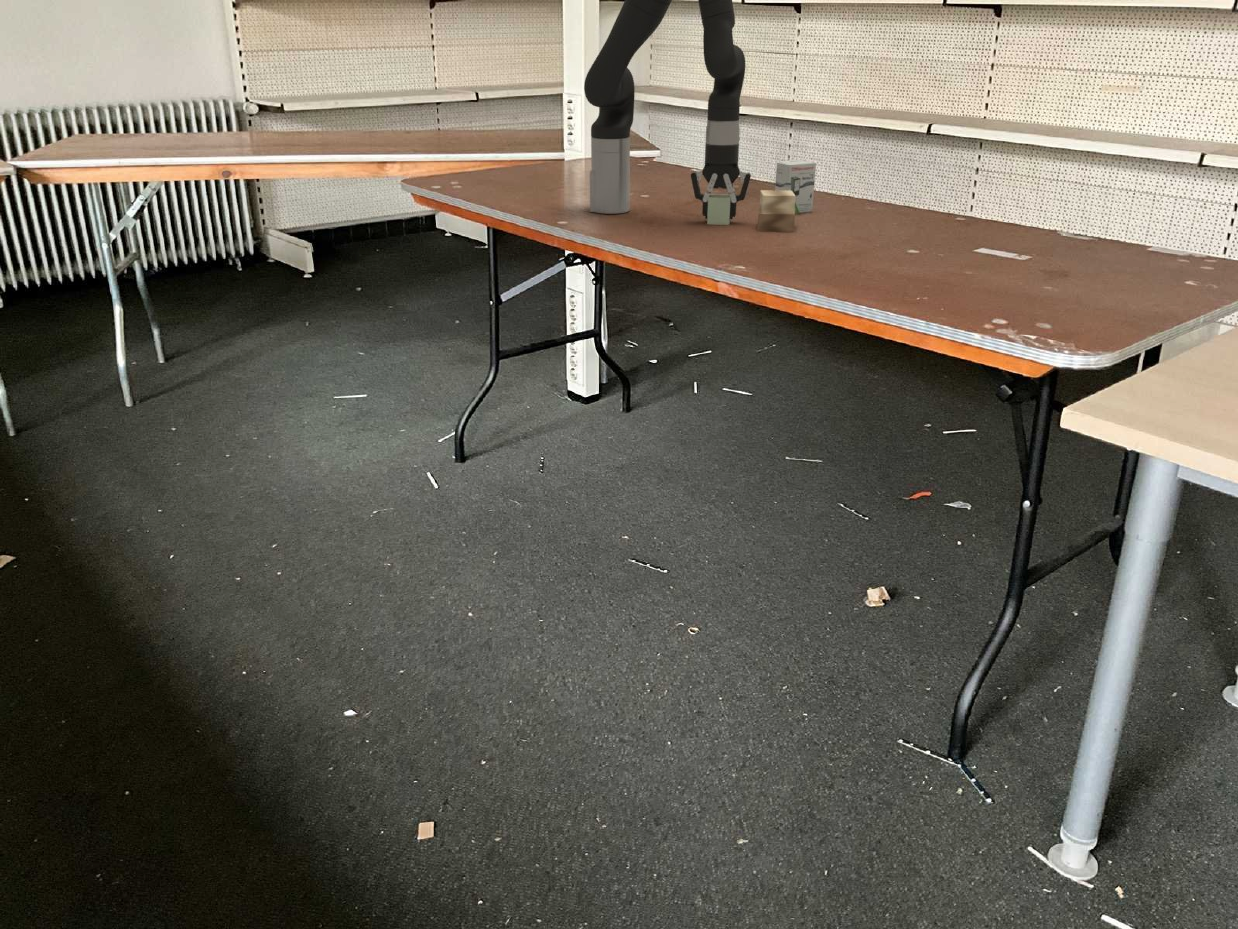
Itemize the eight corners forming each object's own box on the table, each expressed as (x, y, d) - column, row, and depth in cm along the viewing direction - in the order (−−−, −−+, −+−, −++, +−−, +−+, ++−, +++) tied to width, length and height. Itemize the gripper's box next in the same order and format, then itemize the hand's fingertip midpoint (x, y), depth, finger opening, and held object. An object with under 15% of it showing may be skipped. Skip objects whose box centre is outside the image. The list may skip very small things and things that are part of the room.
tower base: (757, 231, 217) (758, 213, 215) (758, 224, 224) (759, 207, 222) (793, 233, 216) (794, 214, 214) (793, 226, 223) (795, 208, 221)
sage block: (707, 224, 223) (708, 197, 221) (708, 220, 228) (709, 193, 225) (729, 224, 222) (730, 198, 220) (730, 220, 227) (731, 194, 224)
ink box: (784, 215, 233) (788, 163, 228) (772, 211, 237) (775, 161, 232) (813, 211, 237) (817, 161, 232) (800, 208, 241) (803, 158, 236)
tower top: (762, 213, 215) (763, 195, 213) (759, 208, 221) (760, 190, 219) (794, 214, 215) (795, 195, 213) (790, 208, 221) (791, 190, 219)
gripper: (688, 142, 215) (686, 220, 222) (754, 144, 213) (749, 222, 220) (691, 138, 222) (689, 214, 229) (755, 139, 220) (750, 216, 227)
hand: (719, 218), depth 225 cm, fingers closed on sage block, 5 cm apart
